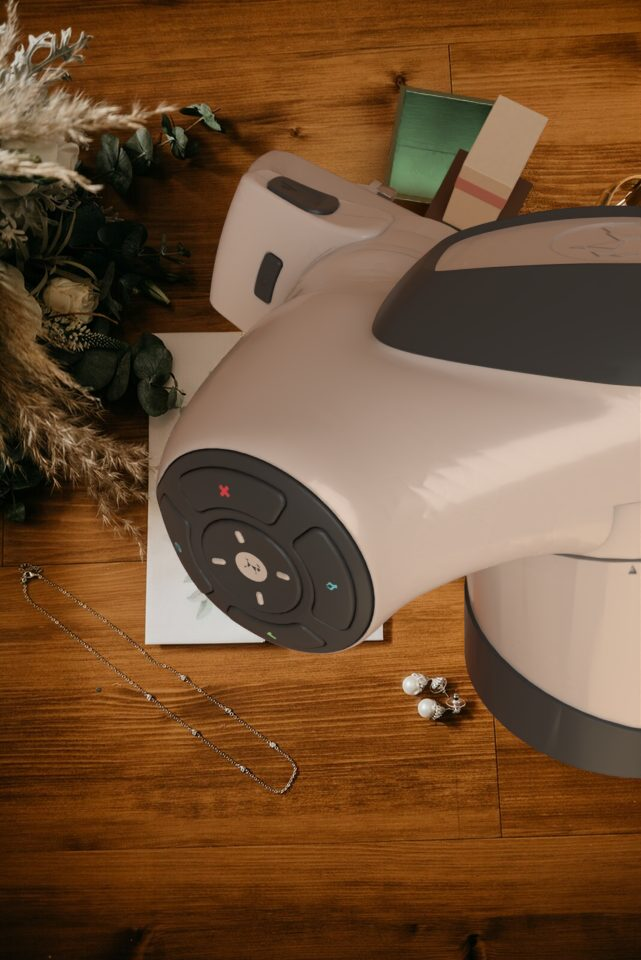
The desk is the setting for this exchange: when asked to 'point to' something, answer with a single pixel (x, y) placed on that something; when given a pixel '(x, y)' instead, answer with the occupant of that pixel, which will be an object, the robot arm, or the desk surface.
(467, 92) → the desk surface
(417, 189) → the bin
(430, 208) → the plinth
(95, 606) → the desk surface
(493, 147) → the packet
